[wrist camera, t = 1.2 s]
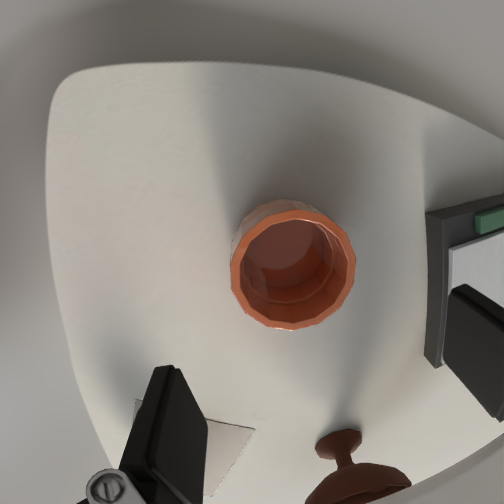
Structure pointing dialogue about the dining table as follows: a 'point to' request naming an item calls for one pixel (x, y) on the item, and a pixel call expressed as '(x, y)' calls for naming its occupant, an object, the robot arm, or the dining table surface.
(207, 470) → the platform
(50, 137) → the dining table surface
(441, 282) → the scale
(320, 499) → the ice cream bowl
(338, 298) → the dip bowl
